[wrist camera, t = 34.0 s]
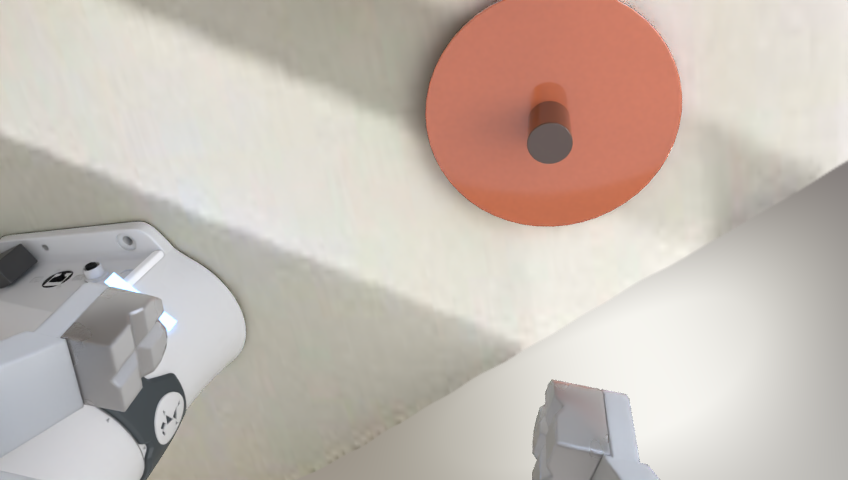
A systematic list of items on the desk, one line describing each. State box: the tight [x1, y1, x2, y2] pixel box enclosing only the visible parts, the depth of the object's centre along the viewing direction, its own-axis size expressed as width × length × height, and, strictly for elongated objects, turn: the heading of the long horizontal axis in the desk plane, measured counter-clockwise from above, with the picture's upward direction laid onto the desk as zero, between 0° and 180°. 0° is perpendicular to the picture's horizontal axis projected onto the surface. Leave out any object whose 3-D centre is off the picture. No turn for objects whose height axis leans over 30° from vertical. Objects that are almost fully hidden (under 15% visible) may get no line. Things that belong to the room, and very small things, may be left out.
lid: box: [425, 0, 682, 226], centre depth 37 cm, size 16×16×5 cm
